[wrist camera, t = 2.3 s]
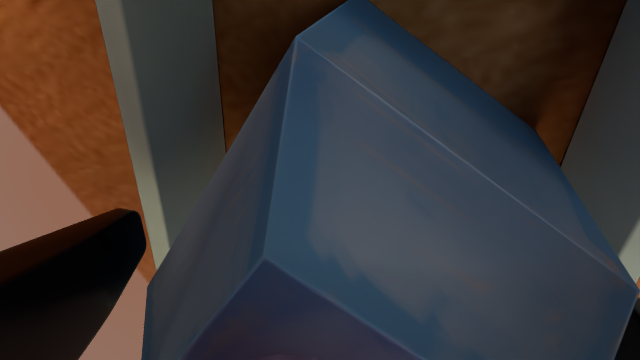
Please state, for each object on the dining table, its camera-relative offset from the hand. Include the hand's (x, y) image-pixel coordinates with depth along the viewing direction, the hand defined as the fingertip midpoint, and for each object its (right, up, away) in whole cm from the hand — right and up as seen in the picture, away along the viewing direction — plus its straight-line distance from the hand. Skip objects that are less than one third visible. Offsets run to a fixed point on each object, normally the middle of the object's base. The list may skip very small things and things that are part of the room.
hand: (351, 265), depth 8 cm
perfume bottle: (+1, +3, +5) cm, 6 cm away
